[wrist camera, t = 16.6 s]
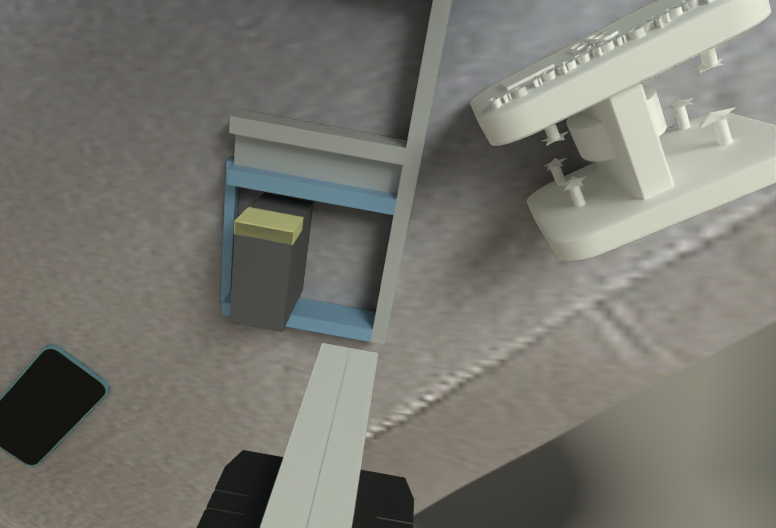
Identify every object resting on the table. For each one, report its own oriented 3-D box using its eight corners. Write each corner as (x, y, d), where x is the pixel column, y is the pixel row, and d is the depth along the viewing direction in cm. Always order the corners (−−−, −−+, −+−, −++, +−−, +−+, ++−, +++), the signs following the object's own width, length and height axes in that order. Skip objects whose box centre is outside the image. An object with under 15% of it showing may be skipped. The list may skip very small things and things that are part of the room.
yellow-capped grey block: (263, 191, 42) (234, 220, 36) (314, 201, 42) (294, 231, 36) (256, 281, 45) (228, 322, 39) (303, 289, 45) (283, 332, 39)
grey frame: (240, -64, 35) (224, -73, 32) (455, -24, 35) (458, -29, 32) (224, 296, 46) (211, 313, 43) (387, 325, 46) (384, 344, 43)
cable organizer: (518, 215, 41) (550, 279, 31) (463, 90, 38) (477, 113, 27) (716, 128, 38) (828, 165, 27) (674, -20, 34) (785, -42, 24)
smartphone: (112, 390, 51) (33, 470, 55) (118, 383, 52) (40, 462, 56) (48, 342, 49) (-28, 429, 53) (55, 336, 50) (-20, 422, 54)
